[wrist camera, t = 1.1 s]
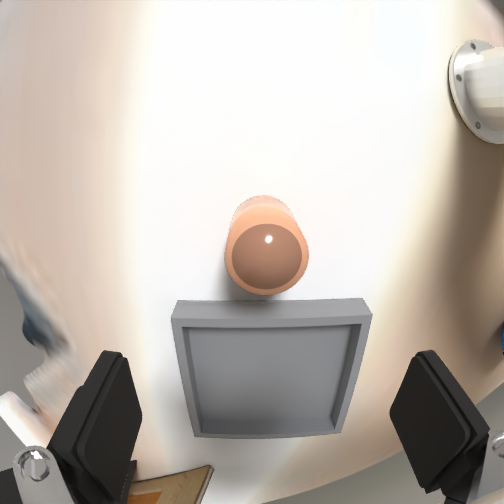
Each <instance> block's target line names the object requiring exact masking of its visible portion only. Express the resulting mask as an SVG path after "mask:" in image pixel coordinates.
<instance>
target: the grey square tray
mask: <svg viewBox="0 0 504 504" xmlns="http://www.w3.org/2000/svg"><path fill="white" fill-rule="evenodd" d="M372 315H373V314H372V313H371V311H370V310H369V308H368V306H367V305H366V303H365V302H364V300H363V298H350V299H324V300H286V301H186V300H178V301H177V304H176V306H175V308H174V311H173V313H172V316H171V323H172V330H173V335H174V341H175V347H176V353H177V358H178V363H179V368H180V374H181V379H182V383H183V388H184V393H185V398H186V402H187V407H188V411H189V415H190V420H191V424H192V428H193V432H194V436H195V437H206V438H231V439H266V438H291V437H305V436H317V435H327V434H336V433H341V430H342V427H343V424H344V421H345V418H346V414H347V411H348V408H349V405H350V402H351V398H352V395H353V391H354V388H355V384H356V381H357V377H358V374H359V370H360V366H361V362H362V358H363V354H364V350H365V346H366V342H367V338H368V333H369V329H370V324H371V320H372Z"/></svg>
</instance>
